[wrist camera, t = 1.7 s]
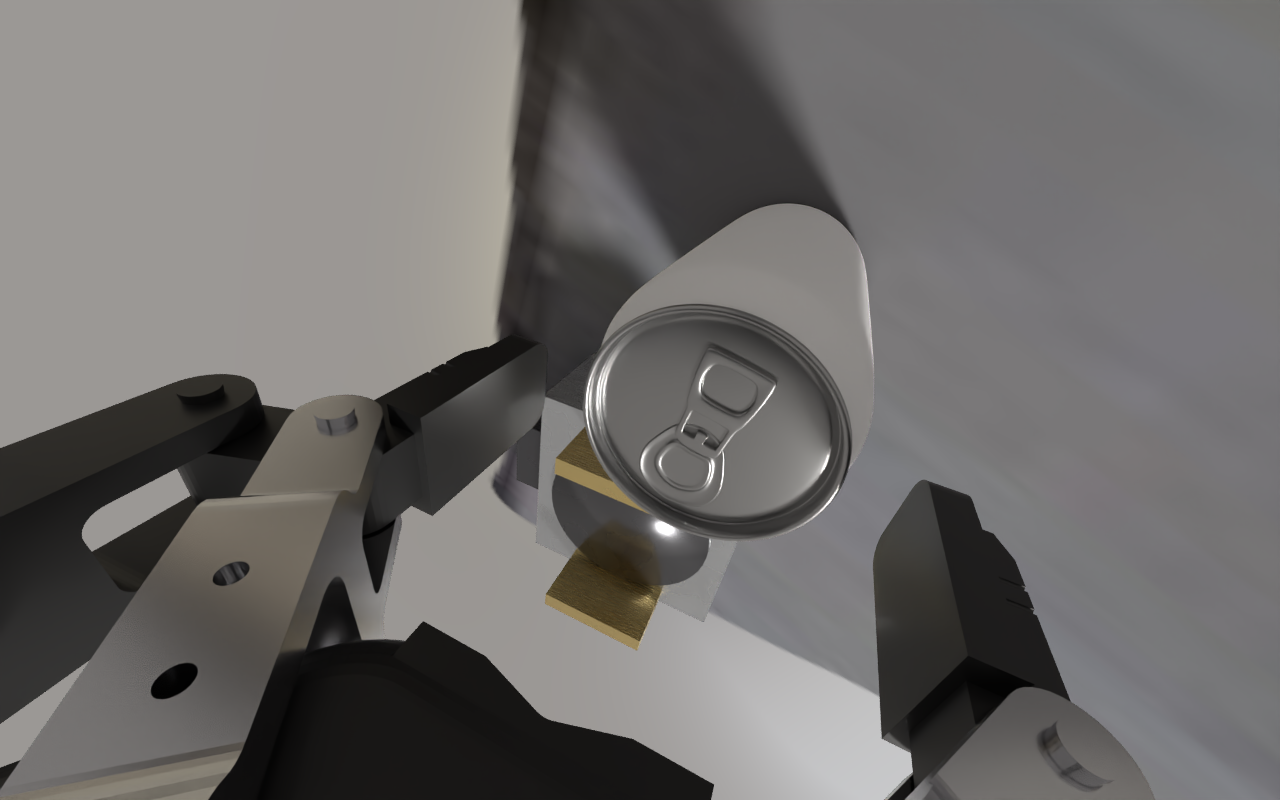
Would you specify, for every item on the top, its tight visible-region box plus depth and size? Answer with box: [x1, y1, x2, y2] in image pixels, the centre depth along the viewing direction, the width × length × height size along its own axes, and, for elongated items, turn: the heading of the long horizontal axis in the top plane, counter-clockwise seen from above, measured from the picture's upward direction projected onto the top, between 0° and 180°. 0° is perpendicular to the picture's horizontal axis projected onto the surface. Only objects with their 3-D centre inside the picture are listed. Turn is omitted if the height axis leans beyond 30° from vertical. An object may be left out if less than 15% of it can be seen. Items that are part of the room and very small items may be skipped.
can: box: [583, 204, 874, 541], centre depth 14 cm, size 6×6×12 cm
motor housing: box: [517, 353, 738, 650], centre depth 23 cm, size 10×12×8 cm
